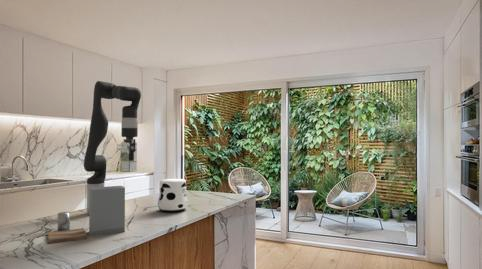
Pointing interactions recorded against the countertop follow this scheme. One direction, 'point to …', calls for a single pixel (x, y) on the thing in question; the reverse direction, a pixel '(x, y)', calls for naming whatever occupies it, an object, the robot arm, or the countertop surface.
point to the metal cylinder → (63, 221)
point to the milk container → (172, 195)
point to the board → (67, 235)
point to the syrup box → (125, 163)
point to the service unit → (107, 210)
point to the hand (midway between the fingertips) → (129, 160)
